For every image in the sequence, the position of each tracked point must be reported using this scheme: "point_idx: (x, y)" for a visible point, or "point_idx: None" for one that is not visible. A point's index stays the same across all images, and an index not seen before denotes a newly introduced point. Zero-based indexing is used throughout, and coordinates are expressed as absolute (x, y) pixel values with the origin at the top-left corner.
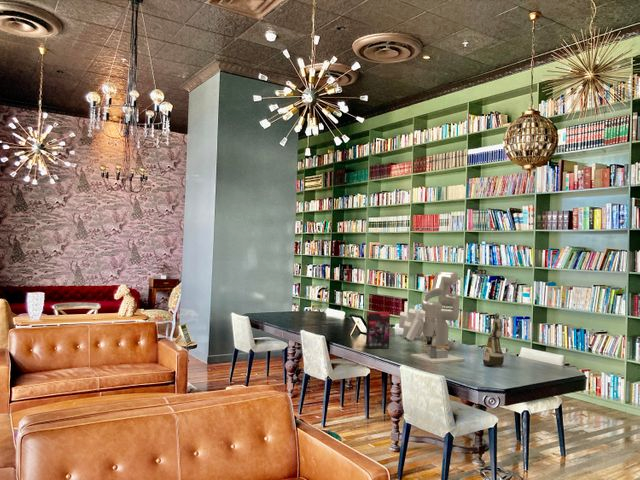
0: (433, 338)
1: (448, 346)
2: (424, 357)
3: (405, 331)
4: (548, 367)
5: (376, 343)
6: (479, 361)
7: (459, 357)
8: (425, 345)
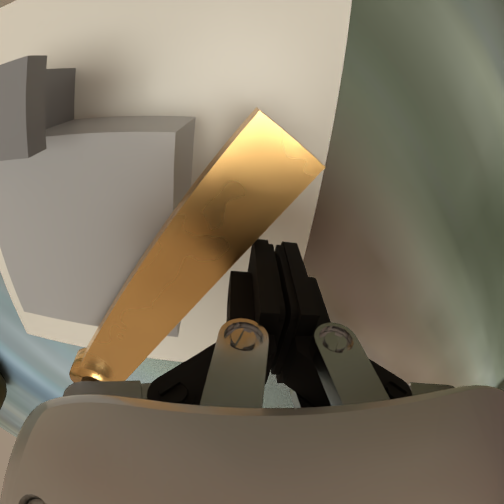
0: (82, 385)
1: (74, 381)
2: (115, 8)
3: None
4: (9, 423)
5: None
6: (41, 372)
7: (66, 342)
8: (230, 142)
